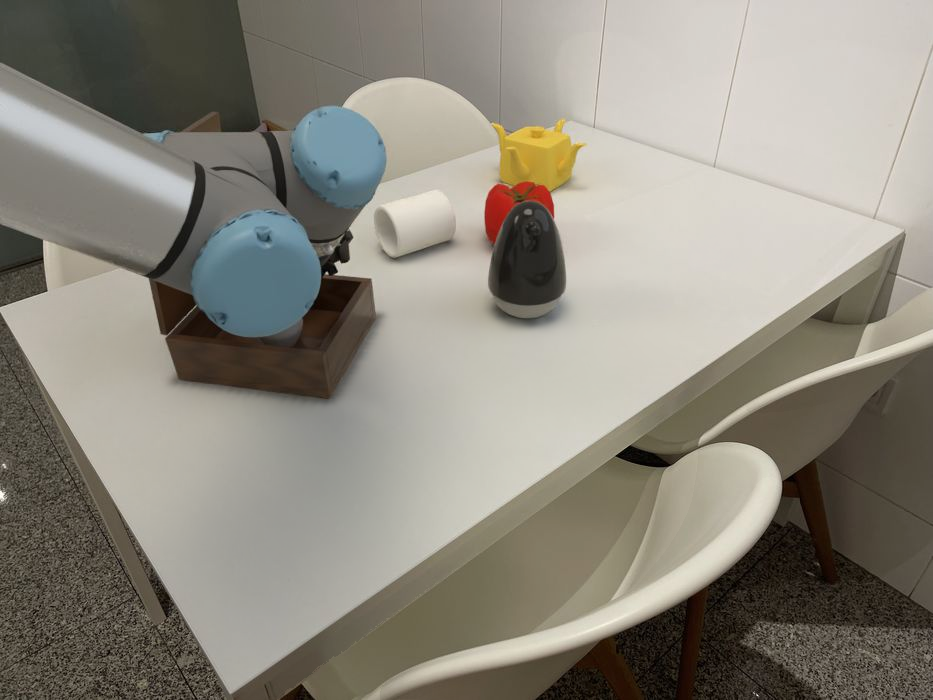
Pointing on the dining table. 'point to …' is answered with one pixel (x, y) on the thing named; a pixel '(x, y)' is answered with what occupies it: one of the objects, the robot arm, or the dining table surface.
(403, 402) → the dining table surface
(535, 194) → the tomato
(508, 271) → the black tumbler egg
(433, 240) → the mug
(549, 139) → the teapot
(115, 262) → the robot arm
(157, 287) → the lid
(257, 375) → the wooden box
